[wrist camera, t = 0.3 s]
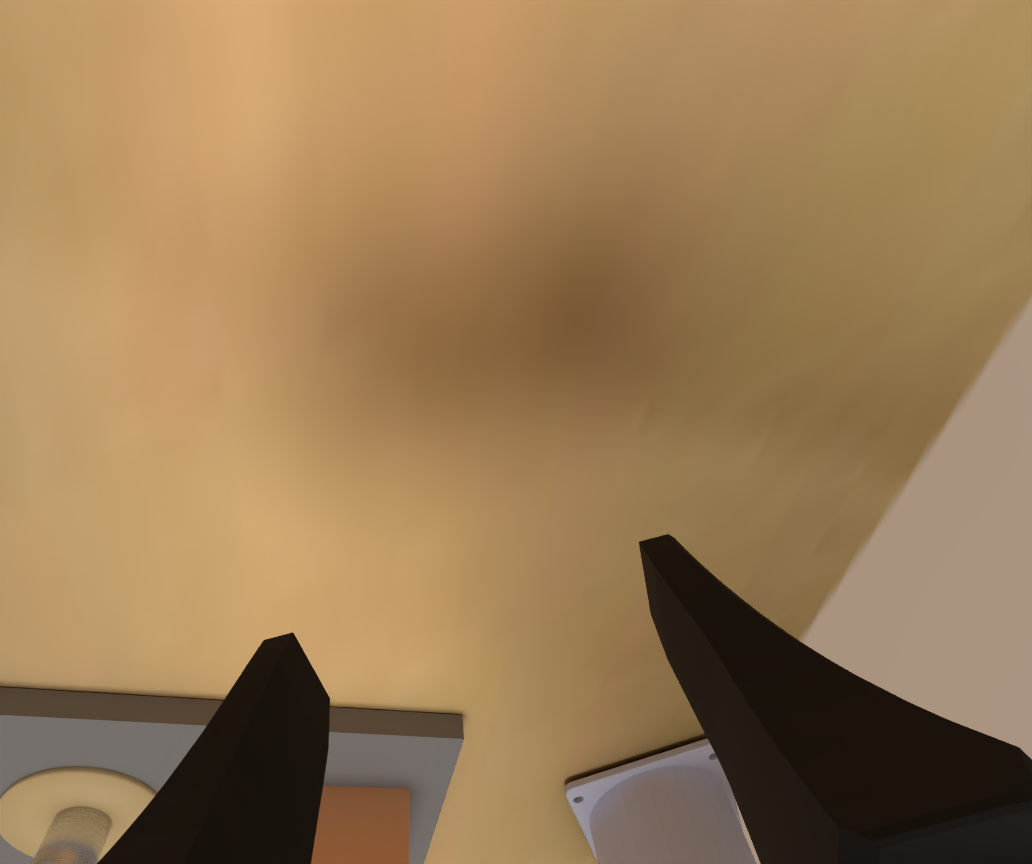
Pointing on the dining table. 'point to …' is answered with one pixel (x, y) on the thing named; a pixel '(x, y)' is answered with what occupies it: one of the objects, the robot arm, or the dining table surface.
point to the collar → (362, 826)
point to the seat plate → (164, 743)
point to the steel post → (75, 837)
